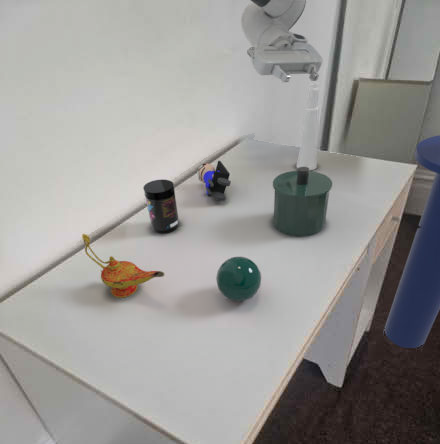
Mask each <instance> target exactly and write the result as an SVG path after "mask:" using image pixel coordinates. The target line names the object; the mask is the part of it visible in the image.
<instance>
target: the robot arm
mask: <svg viewBox="0 0 440 444" xmlns="http://www.w3.org/2000/svg"><path fill="white" fill-rule="evenodd" d="M250 2H251V3H249V4H248V5H246V7H245V8H244V9H243V12H242V15H241V20H240V24H241V29H242V32H243V34H244V36H245V38H246V39H247V41H248V43H249V44H250V45H251V47H249V48H248V49H247V50H246V54H247V55H248V57H249V58H250V59H251V60H250V61H251V64H252V66H253V68H254V70H255V72H256V73H257V74H258V75H261V76H273V77H275V78H277V79H279V80H280V81H281V82H282V83H289V82H290V79H291V75H304V74H305V75H307V74H308V75H309V76H308V79H309V80H310V81H311V82H317V81H318V79H319V77H320V74H319V71H320V70H321V67H322V65H323V57H322V56H321V54H320V53H319V51H318V50H317V49H316V48H315V47H314V46H313V45H312V44H310V43H308V41H309V39H308V37H306V36H305V35H301V34H299V33H298V34H297V33H294V32H291V31H290V30H292V28H293V27H294V26H295V25H296V24H297V22H298V21H299V19H300V18H301V16H302V15H303V13H304V11H305V8H306V4H307V0H250Z"/></svg>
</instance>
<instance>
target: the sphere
mask: <svg viewBox="0 0 440 444" xmlns="http://www.w3.org/2000/svg"><path fill="white" fill-rule="evenodd" d="M215 280H216V285H217V288H218V290H219V292H220V294H222V296H223V297H224V298H226V299H227V300H230V301H233V302H245V301H248V300H251V299H252V298H253V297H254V296H255V295H256V294H257V293H258V291H259V290H260V288H261V286H262V285H261V283H262V274H261V271H260V269H259V267H258V265H257V264H256V263H255V262H254V261H253V260H251V259H250V258H248V257H245V256H232V257H230V258H227V259H226V260H225V261H224V262H222V264H221V265H220V266H219V268H218V269H217V273H216V279H215Z"/></svg>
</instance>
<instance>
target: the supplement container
mask: <svg viewBox="0 0 440 444" xmlns="http://www.w3.org/2000/svg"><path fill="white" fill-rule="evenodd" d="M142 188H143V193H144V197H145V201H146V207H147V211H148V216H149V221H150V225H151V228H152V230H153V231H154V232H156V233H158V234H167V233H171V232H174V231H176V230H177V229H178V228H179V226H180V219H179V212H178V211H179V210H178V205H177V200H176V193H175V192H176V191H175V185H174V182H173V181H172V180H170V179H154V180H151V181H149V182H146V183H145V184H144V185H143V187H142Z"/></svg>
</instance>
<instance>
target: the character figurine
mask: <svg viewBox="0 0 440 444" xmlns="http://www.w3.org/2000/svg"><path fill="white" fill-rule="evenodd" d="M196 171H197V172H196V177H197V178H198V180H199V181H200V182H201V183H202V184H203V183H204V184H205V185H204V186H205V190H206V195H207V197H209V198H212V199H213V200H215V201H217V202H225V201H226V199H227V196H226V195H225V192H226V189H227V187H230V186H231V183H232V182H231V181H230V180H229V179H230V176H231V173H230V172H229V170H228V169H227V168H226V167H225V165H224V164H223V162H222V161H221V160H217V164H216V168H215V167H214V165H212V164H211V163H202V164H200V165H199V166H198V168H197V170H196Z"/></svg>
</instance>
